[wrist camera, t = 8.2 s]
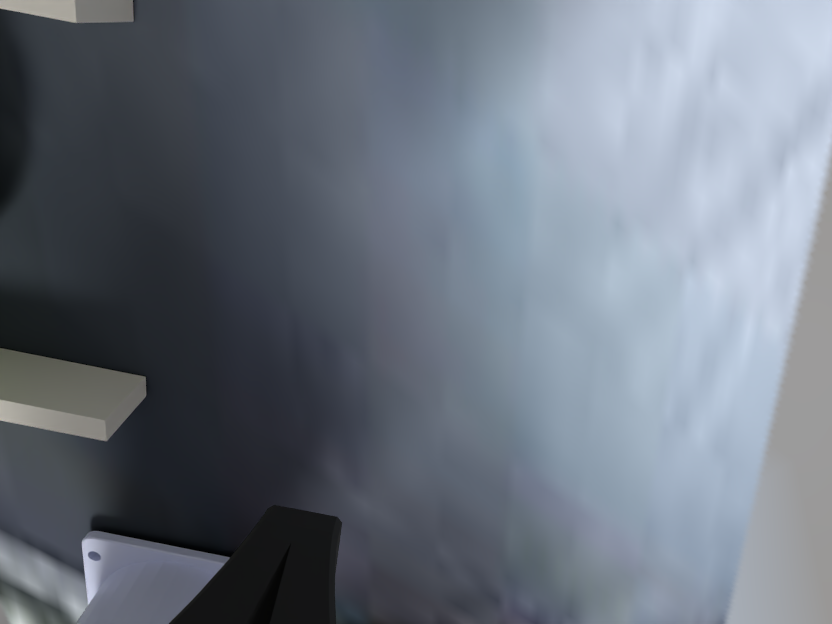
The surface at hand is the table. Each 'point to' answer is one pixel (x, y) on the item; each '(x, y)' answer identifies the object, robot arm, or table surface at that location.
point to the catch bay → (57, 379)
